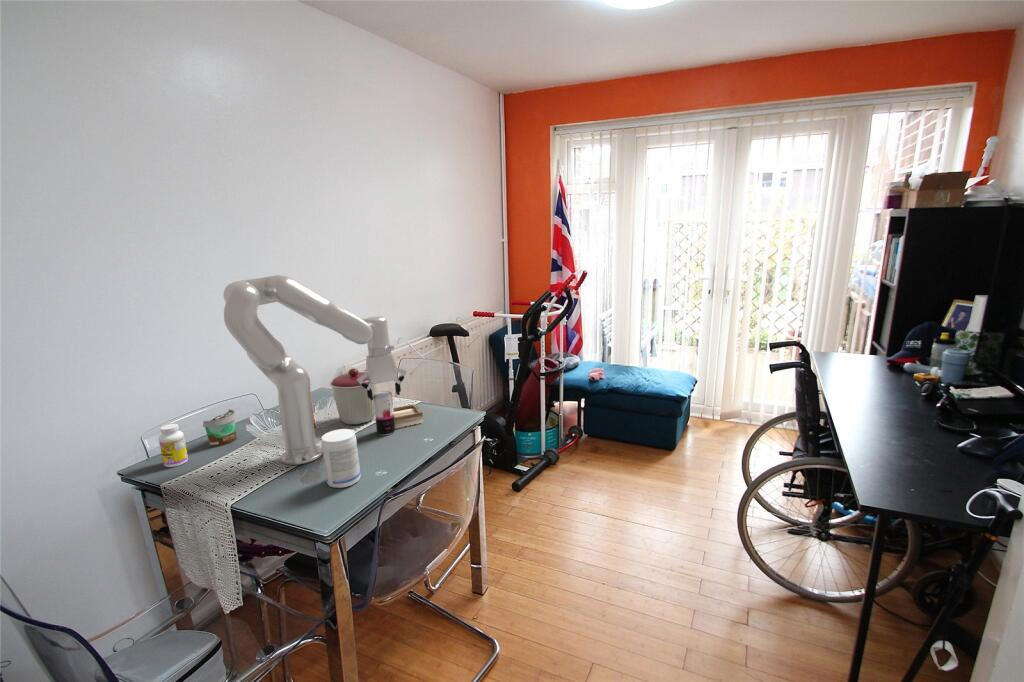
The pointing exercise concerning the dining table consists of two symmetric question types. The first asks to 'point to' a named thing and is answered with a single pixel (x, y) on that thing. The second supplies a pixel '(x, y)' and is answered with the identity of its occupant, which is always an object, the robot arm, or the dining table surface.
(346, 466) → the supplement tub
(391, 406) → the beverage can
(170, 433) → the supplement bottle
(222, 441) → the food container
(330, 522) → the dining table surface
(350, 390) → the canister
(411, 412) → the wooden tray
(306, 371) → the robot arm
